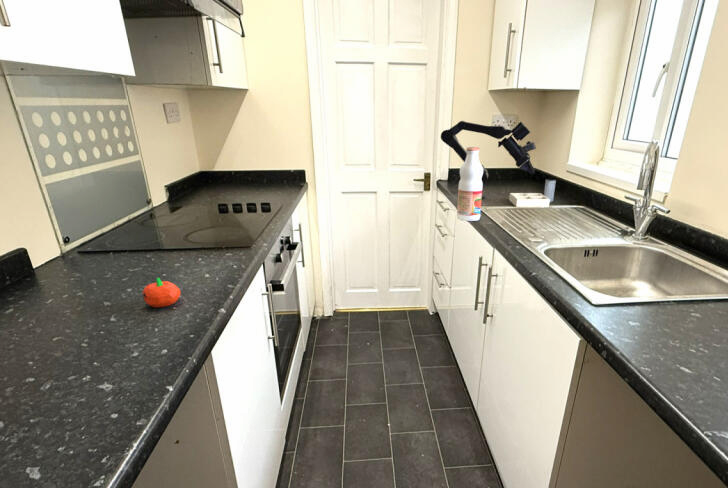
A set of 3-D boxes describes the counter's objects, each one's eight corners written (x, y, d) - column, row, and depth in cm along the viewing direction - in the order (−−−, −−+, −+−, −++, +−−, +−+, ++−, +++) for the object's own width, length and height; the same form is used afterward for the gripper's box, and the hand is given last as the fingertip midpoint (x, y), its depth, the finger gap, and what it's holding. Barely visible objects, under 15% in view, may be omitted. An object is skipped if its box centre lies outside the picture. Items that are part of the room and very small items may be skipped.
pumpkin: (160, 314, 89) (153, 287, 87) (139, 306, 93) (132, 280, 90) (190, 302, 95) (184, 276, 93) (169, 295, 99) (163, 270, 96)
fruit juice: (457, 215, 173) (460, 146, 162) (479, 216, 172) (484, 146, 161) (456, 221, 164) (460, 148, 154) (480, 222, 163) (485, 148, 152)
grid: (509, 200, 203) (509, 193, 201) (539, 200, 202) (540, 193, 201) (516, 206, 189) (517, 199, 187) (548, 207, 188) (549, 199, 187)
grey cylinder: (541, 200, 202) (543, 179, 198) (548, 200, 203) (551, 178, 199) (547, 202, 198) (550, 180, 194) (554, 201, 199) (557, 180, 195)
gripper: (526, 136, 184) (548, 163, 185) (527, 134, 200) (547, 158, 202) (506, 154, 189) (528, 179, 190) (508, 150, 205) (529, 174, 207)
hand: (534, 172), depth 197 cm, fingers open, 9 cm apart
